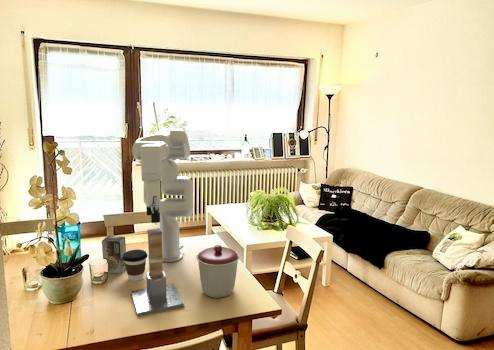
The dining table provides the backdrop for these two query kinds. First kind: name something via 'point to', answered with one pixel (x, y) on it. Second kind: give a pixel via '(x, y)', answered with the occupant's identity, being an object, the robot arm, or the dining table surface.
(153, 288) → the stand
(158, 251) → the post
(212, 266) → the canister
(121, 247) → the coffee box
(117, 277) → the dining table surface
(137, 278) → the coffee cup
